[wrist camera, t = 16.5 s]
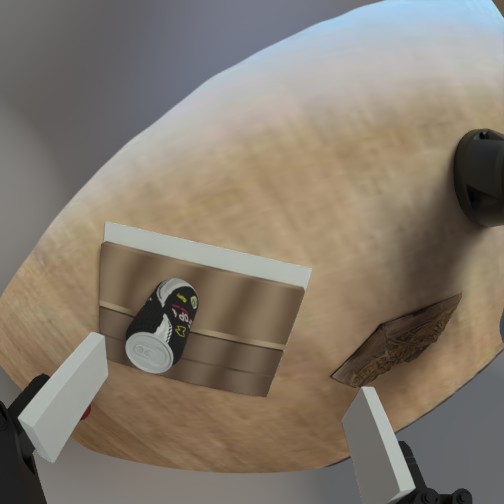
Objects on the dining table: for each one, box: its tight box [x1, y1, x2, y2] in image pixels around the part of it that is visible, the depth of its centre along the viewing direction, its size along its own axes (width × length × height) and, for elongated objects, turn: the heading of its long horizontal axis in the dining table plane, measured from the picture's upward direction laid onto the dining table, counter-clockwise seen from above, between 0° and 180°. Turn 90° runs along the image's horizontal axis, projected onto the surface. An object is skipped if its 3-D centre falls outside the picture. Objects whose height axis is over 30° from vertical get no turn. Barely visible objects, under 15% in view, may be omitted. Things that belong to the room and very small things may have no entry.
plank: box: [99, 241, 305, 350], centre depth 35 cm, size 26×9×2 cm, turn 76°
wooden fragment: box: [331, 293, 462, 388], centre depth 39 cm, size 26×11×1 cm, turn 118°
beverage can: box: [125, 278, 199, 373], centre depth 28 cm, size 6×6×12 cm
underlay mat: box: [104, 221, 312, 387], centre depth 37 cm, size 27×20×1 cm
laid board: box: [99, 306, 284, 397], centre depth 38 cm, size 26×9×2 cm, turn 76°
